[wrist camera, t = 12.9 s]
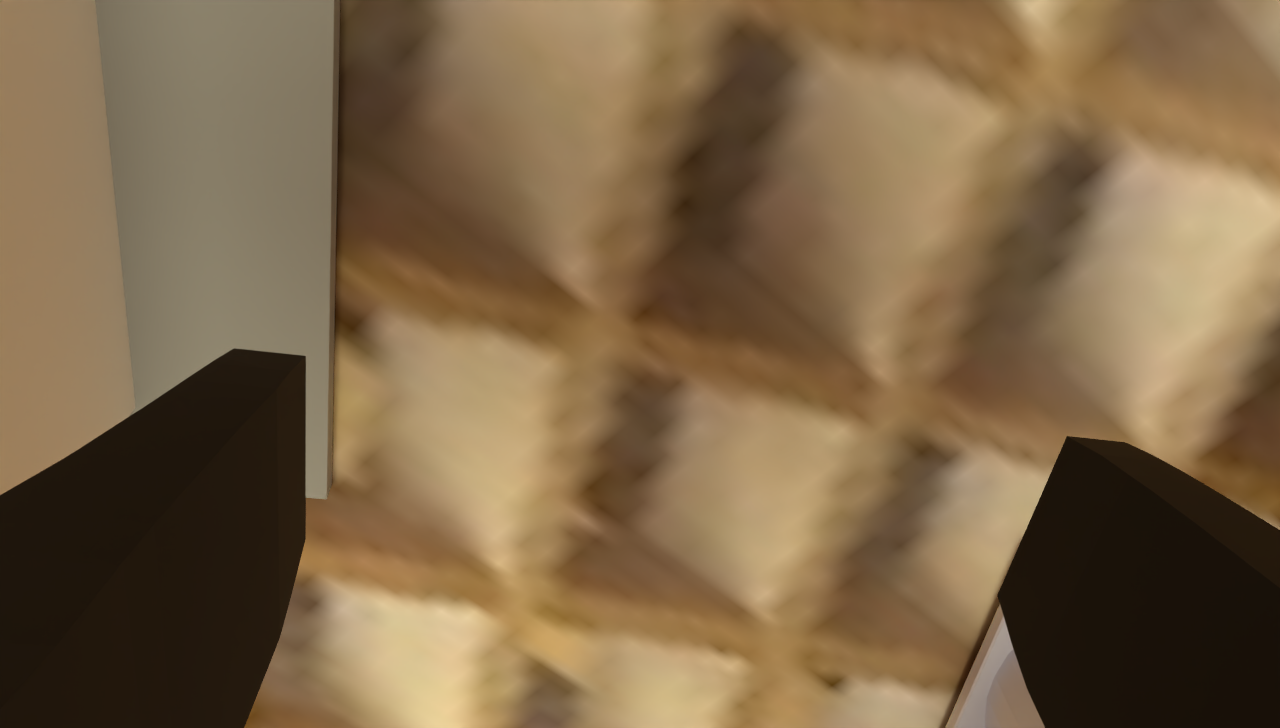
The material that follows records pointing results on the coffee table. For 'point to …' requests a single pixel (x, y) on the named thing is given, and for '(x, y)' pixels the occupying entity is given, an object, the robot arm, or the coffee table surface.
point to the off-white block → (57, 242)
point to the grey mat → (226, 188)
